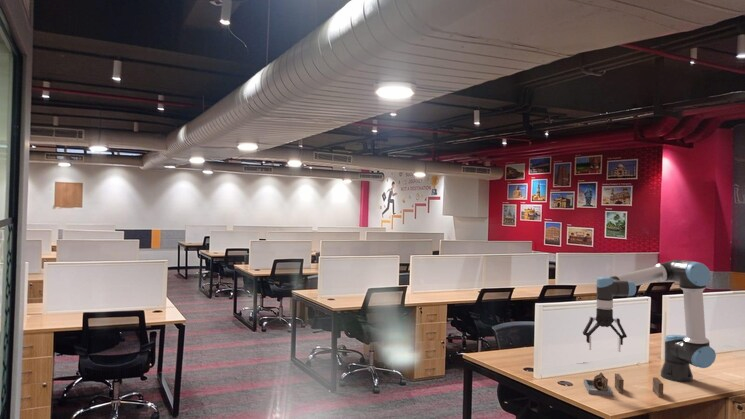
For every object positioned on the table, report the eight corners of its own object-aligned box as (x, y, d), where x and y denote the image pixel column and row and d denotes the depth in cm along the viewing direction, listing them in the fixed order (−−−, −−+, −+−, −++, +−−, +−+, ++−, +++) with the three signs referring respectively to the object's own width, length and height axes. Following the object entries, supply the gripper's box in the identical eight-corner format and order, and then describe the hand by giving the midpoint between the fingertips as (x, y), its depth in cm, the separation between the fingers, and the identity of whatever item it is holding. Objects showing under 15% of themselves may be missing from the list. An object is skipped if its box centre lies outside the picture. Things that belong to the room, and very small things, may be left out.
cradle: (657, 391, 254) (657, 377, 254) (663, 398, 245) (663, 384, 245) (614, 387, 259) (614, 373, 259) (618, 393, 249) (619, 379, 249)
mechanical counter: (591, 396, 249) (595, 380, 245) (587, 378, 260) (590, 362, 256) (607, 398, 247) (611, 382, 243) (602, 380, 259) (605, 364, 255)
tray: (605, 386, 261) (605, 381, 261) (612, 397, 244) (612, 392, 244) (583, 383, 263) (583, 379, 263) (588, 394, 247) (588, 389, 247)
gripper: (629, 307, 259) (629, 350, 259) (577, 305, 265) (576, 346, 265) (633, 310, 252) (633, 354, 252) (579, 308, 258) (579, 350, 257)
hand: (604, 350), depth 258 cm, fingers open, 13 cm apart
